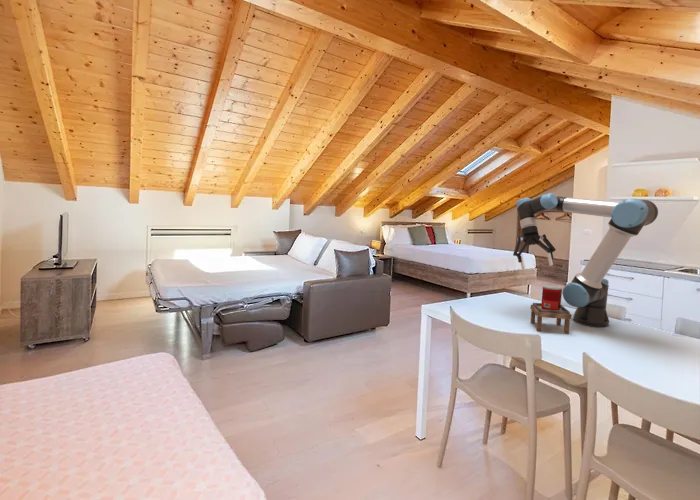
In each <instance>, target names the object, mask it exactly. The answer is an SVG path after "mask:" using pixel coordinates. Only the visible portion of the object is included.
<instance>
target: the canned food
mask: <svg viewBox="0 0 700 500" xmlns="http://www.w3.org/2000/svg"><path fill="white" fill-rule="evenodd" d="M541 291H542V293H541V302H540V303H541V307H542V309H544V310H558V311H560V306H561V305H562V304H561V303H562V297H563V294H562V291H563V288H562V286H559V285H554V284H543V285H542V289H541Z"/></svg>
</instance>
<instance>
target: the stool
mask: <svg viewBox="0 0 700 500" xmlns="http://www.w3.org/2000/svg"><path fill="white" fill-rule="evenodd" d="M541 303H542V302H532V304H530V310H531V311H530V324H536V332H542V323H543V318H550V319H551V318H552V319H556V321H555V322H556V323H555V325H556V326H558V327H559V326H561V325H562V319H564V324H563V325H564V327H563V333H564V334H567V335H569V334H570V333H569V332H570V325H571V323H570V321H571V320H572V319H573V316H572V315H573V314H571V312H570V311H569V310H568V309H567V308H566V307H565V306H563V305H562V304H561V306H560V311H558V310H544V309H542V307H541Z"/></svg>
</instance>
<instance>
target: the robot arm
mask: <svg viewBox="0 0 700 500" xmlns="http://www.w3.org/2000/svg"><path fill="white" fill-rule="evenodd" d="M516 211H517V214H518V218H519V224H520V228H521V233H522V237H520V236H518V237H517V238H516V243H515V244H516V245H515V247H514V251H513V254H512V255H513V256H514V257H517V262H518V263H520V267H521V270H524V269H526V266H525V260H524V257H523V255H522V254H523V252H524V251H525V250H526V247H527V246H534V245H537V246H539V247H540V248H541V249H543V250H544V251H545V252H546V257H547V260H548V265H549V267H552V266H554V263H553V260H554V255H553V253H554V252H555V251H556V250H557V249H556V248H555V247H554V245H553V244H552V243H551V241H550V240H549V239H548V238H547V236H546V234H545V233H544V234H542V235H539V229H538V226H537V220H536V215H537V214H539V213H542V212H549V211H550V212H562V213H572V214H579V215H580V214H581V215H588V216H596V217H604V218H610V220H609V221H608V224H607V225H608V227H609V228H608V230H607V231H606V233H605V235H604V236H603V238H602V240H601V241H600V243H599V245H598V246H597V248H596V249H595V251H594V253H593V254H592V255H591V257H590V258H589V260H588V262H587V263H586V265H585V266H584V268H583V269H582V271H581V272H579V273H576V274H575V275H574V277H573V278H572V279H571V281H570V282H568V283H567V284H565V285H564V286H563V288H562V297H563V299H564V301H565V302H566V303H567V304H568V305H569V306H572V307H575V308H576V309H575V311H574V313H573V314H572V315H573V316H572V320H573V321H574V322H575V323H577V324H580V325H583V326H588V327H594V328H595V327H596V328H603V327H604V328H605V327H608V326H609V325H610V319H609V316H608V313H607V302H608V293H609V287H610V286H609V285H610V284H609V280H608V278H605V277H606V275H607V274H608V272H609V271H610V269H611V267H612V266H613V265H614V263H615V262H616V260H617V259H618V257H619V255H621V253H622V252H623V250H624V248H625V247H626V245H627V243H628V242H629V241H630V240H631V238H633V237H636V236H638V235H639V234H640V233H641V231H642V228H644V227H645V226H648V225H650V224H652V223H654V222H655V221H656V219H657V218H658V216H659V210H658V207H657V205H656V204H655V203H654V202H652V201H651V200H648V199H638V198H628V199H625V200H622V201H613V200H612V201H611V200H601V199H589V198H577V197H567V196H566V197H565V196H560V195H558V196H556V195H555V194H554V193H552V192H551V193H550V192H549V193H546V194H543V195H541V196H538V197H536V198H533V199H532V198H529V197H524V198H521V199H518V200H517V201H516ZM540 239H541V240H542V241H541V240H540ZM522 241H523V242H524V243H523V245H522V247H521V248H520V246H521V242H522ZM519 248H520V250H519Z"/></svg>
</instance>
